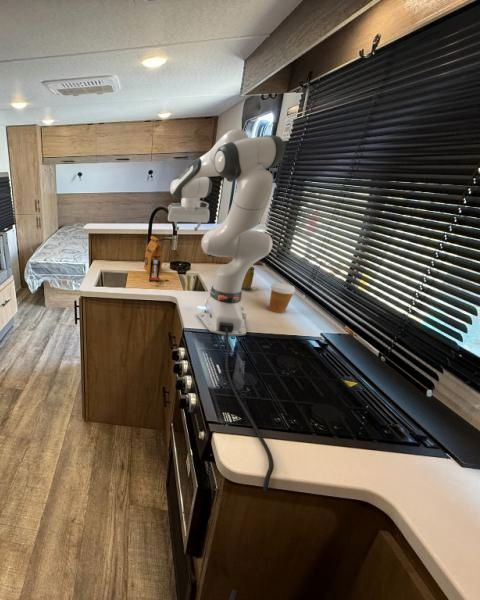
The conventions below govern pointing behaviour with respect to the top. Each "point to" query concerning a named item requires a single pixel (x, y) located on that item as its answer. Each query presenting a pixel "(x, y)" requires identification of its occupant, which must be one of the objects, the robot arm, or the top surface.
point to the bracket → (157, 269)
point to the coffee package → (153, 254)
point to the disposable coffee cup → (280, 296)
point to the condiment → (248, 280)
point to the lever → (154, 270)
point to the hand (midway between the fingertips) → (186, 230)
